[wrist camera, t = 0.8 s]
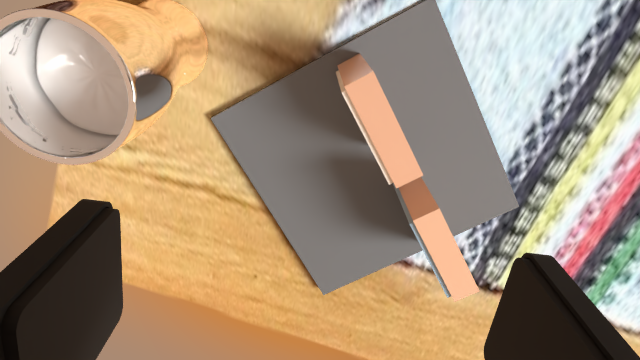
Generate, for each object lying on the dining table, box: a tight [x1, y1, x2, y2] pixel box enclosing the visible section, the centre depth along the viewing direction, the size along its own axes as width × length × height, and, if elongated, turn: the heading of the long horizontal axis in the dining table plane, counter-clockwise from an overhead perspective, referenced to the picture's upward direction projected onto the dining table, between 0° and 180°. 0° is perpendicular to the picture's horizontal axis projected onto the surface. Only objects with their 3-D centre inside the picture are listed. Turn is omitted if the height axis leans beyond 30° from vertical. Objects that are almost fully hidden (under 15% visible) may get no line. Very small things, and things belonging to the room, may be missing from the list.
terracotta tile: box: [336, 53, 423, 188], centre depth 30 cm, size 2×7×8 cm, turn 28°
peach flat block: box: [393, 177, 479, 302], centre depth 34 cm, size 2×7×8 cm, turn 28°
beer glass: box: [0, 0, 208, 165], centre depth 26 cm, size 7×7×15 cm
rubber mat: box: [211, 0, 519, 295], centre depth 36 cm, size 18×18×1 cm
